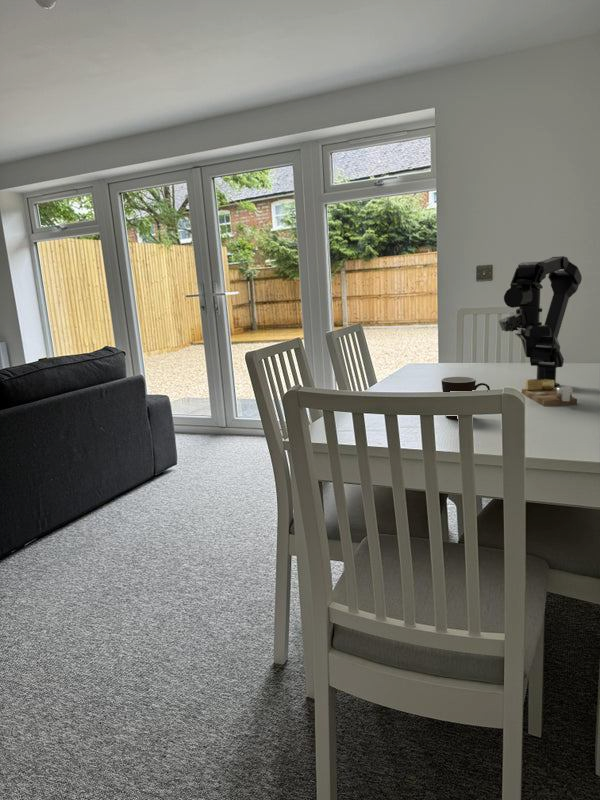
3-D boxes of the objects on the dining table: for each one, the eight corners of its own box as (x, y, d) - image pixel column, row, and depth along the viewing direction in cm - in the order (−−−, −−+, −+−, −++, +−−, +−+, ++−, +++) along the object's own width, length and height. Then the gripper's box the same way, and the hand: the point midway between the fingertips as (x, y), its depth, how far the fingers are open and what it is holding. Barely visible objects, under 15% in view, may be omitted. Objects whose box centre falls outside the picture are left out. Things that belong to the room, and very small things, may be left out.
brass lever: (550, 387, 173) (551, 377, 172) (556, 389, 169) (556, 380, 168) (524, 388, 173) (524, 379, 172) (528, 390, 169) (529, 381, 168)
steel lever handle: (555, 395, 161) (556, 385, 161) (571, 395, 160) (571, 385, 160) (557, 401, 154) (558, 390, 154) (574, 401, 153) (574, 391, 152)
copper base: (521, 393, 174) (521, 388, 173) (551, 392, 173) (551, 386, 173) (543, 405, 157) (543, 399, 157) (576, 404, 157) (577, 398, 156)
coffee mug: (437, 419, 148) (437, 381, 146) (445, 412, 155) (445, 376, 153) (484, 423, 143) (484, 383, 141) (490, 415, 150) (490, 377, 148)
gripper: (492, 305, 180) (491, 354, 184) (513, 308, 162) (512, 362, 165) (528, 303, 180) (526, 352, 183) (553, 306, 162) (550, 360, 165)
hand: (527, 357), depth 174 cm, fingers closed
